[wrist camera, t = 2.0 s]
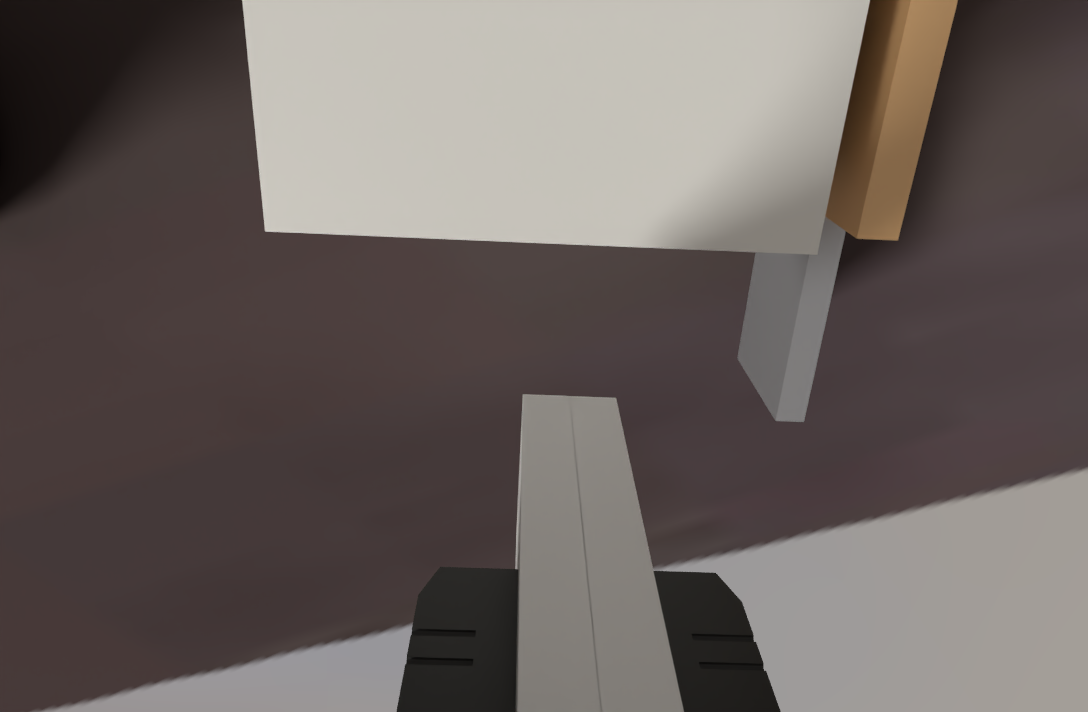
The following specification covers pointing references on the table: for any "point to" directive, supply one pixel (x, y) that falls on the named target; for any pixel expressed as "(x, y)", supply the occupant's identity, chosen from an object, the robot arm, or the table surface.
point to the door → (848, 197)
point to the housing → (553, 119)
